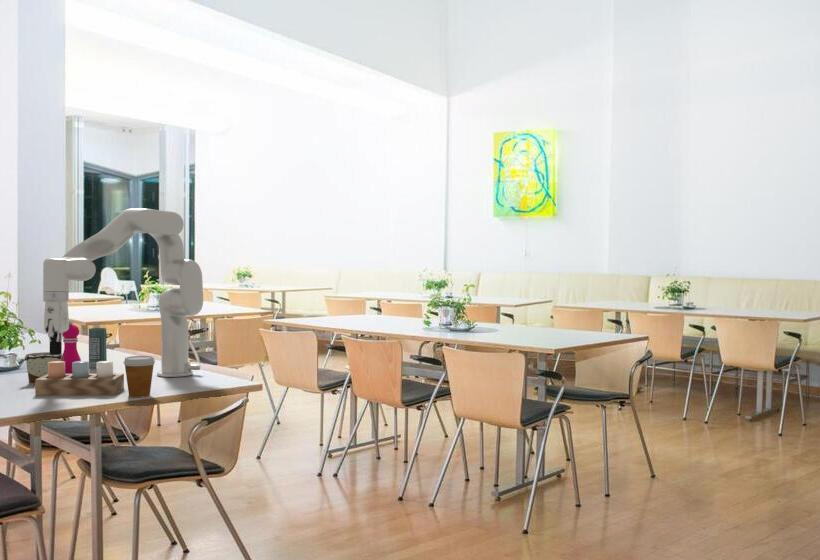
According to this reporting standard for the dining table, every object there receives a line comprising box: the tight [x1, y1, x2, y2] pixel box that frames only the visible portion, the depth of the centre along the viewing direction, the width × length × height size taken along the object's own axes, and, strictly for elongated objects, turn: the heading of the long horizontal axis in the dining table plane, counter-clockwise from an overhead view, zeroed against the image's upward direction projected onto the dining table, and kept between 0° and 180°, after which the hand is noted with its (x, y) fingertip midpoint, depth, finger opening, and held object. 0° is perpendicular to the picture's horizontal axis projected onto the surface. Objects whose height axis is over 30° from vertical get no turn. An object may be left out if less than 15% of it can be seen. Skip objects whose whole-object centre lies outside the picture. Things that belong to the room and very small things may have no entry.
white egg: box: [95, 360, 114, 378], centre depth 266 cm, size 5×5×6 cm
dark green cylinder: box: [88, 327, 108, 369], centre depth 319 cm, size 6×6×15 cm
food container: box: [23, 351, 64, 385], centre depth 283 cm, size 12×6×10 cm, turn 111°
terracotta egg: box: [48, 361, 65, 378], centre depth 264 cm, size 5×5×6 cm
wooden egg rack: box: [34, 373, 125, 396], centre depth 265 cm, size 24×12×5 cm, turn 95°
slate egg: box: [72, 360, 90, 378], centre depth 265 cm, size 5×5×6 cm
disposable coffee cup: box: [122, 355, 156, 398], centre depth 260 cm, size 10×10×12 cm
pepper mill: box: [62, 319, 82, 374], centre depth 298 cm, size 7×7×20 cm
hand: (55, 354), depth 264 cm, fingers closed
